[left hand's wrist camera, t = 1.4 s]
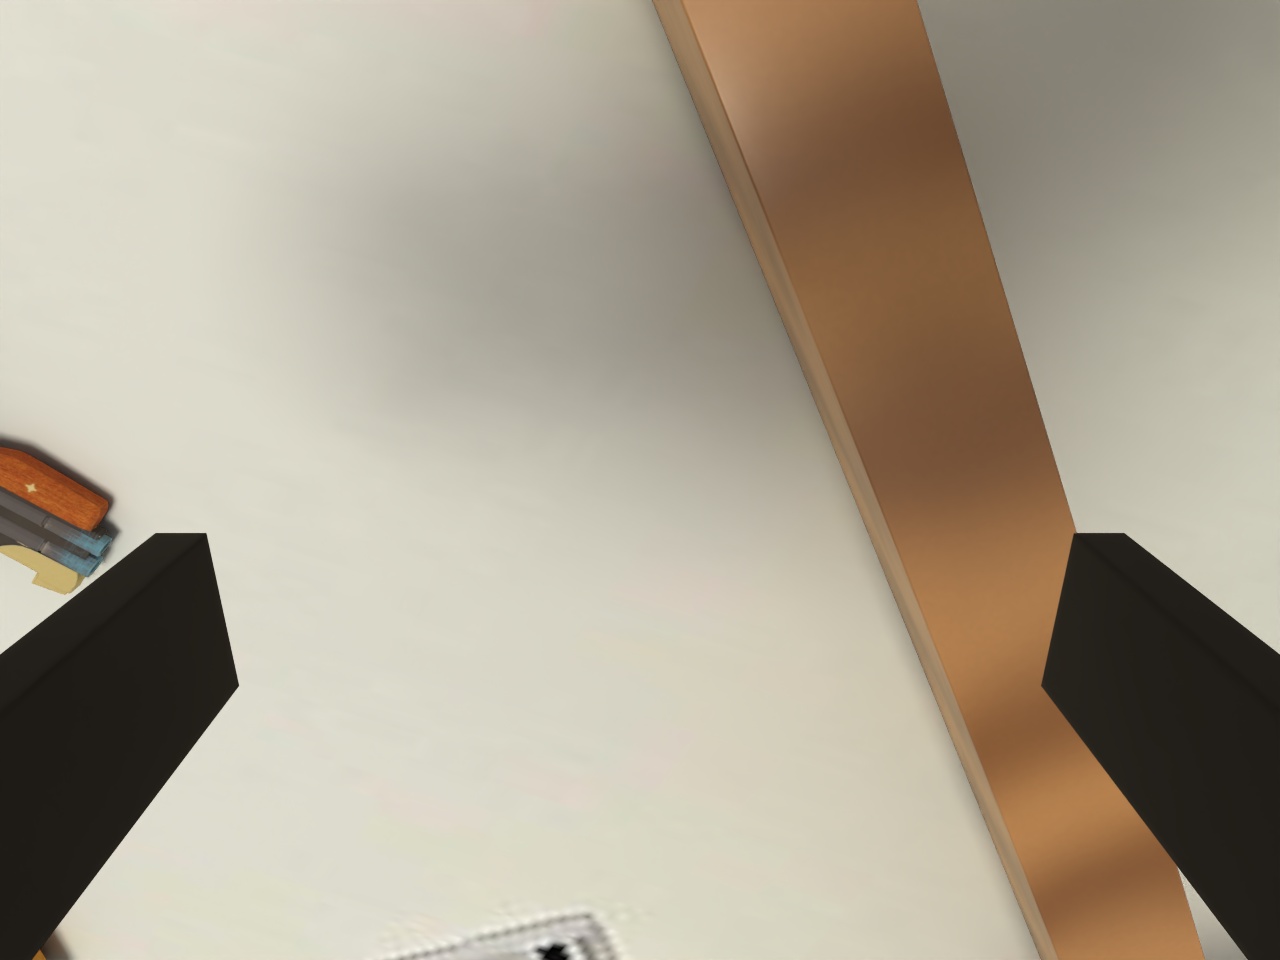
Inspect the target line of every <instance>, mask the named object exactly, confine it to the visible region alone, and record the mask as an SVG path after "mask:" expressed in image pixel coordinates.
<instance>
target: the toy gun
mask: <svg viewBox="0 0 1280 960" xmlns="http://www.w3.org/2000/svg"><path fill="white" fill-rule="evenodd" d="M108 504H109V503H108V501H107V500H105V499H103V498H102V497H100V496H98V495H97V494H95V493H93V492H92V491H90V490H88V489H87V488H85V487H83V486H82V485H80V484H78V483H77V482H75V481H73V480H72V479H70V478H68V477H66V476H65V475H63V474H61V473H60V472H58V471H56V470H54V469H53V468H51V467H49V466H48V465H46V464H44V463H42V462H41V461H39V460H37V459H36V458H34V457H32V456H30V455H29V454H27V453H25V452H22V451H20V450H15V449H10V448H4V447H0V552H1V553H3V554H5V555H6V556H8V557H10V558H12V559H14V560H16V561H18V562H20V563H21V564H23V565H25V566H27V567H29V568H31V569H32V570H34V571H36V572H38V573H37V574H36V576H35V578H34V579H33V581H32V583H33V584H36V585H38V586H41V587H44V588H47V589H50V590H53V591H55V592H58V593H61V594H64V595H65V594H66V593H71V592H72V591H74V590H75V589H76V588H77V587H78V586H79V585H80V584H81V582H82V581H83V579H84V578H85V577H89V576H90V575H91V574H92V573H93V572H94V571H95V570H96V569H97V567H98V566H99V565H100V563H101V561H102V560H103V556H101V554H102V553H103V552H104V551H105V550H106V549H107V547H108V546H109V545H110V543H111V541H112V538H111V537H109V536H108V535H106V533H107V530H106V529H104V528H102V527H101V526H99V523H100V522H101V520H102V518H103V517H104V515H105V514H106V512H107V510H108Z"/></svg>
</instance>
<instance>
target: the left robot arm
mask: <svg viewBox="0 0 1280 960" xmlns="http://www.w3.org/2000/svg"><path fill="white" fill-rule="evenodd" d="M238 687H239V683H238V679H237V674H236V669H235V665H234V660H233V655H232V651H231V646H230V641H229V637H228V632H227V627H226V623H225V618H224V613H223V609H222V604H221V599H220V595H219V590H218V585H217V581H216V576H215V571H214V567H213V562H212V557H211V553H210V548H209V543H208V539H207V534H206V533H155V534H154V535H153V536H151V537H150V538H149V539H148V540H146V541H145V542H144V543H142V544H141V545H140V546H139V547H137V548H136V549H135V550H134V551H132V552H131V553H130V554H128V555H127V556H126V557H125V558H123V559H122V560H121V561H119V562H118V563H117V564H116V565H114V566H113V567H112V568H110V569H109V570H108V571H107V572H105V573H104V574H103V575H101V576H100V577H99V578H98V579H96V580H95V581H94V582H93V583H91V584H90V585H89V586H87V587H86V588H85V589H84V590H82V591H81V592H80V593H78V594H77V595H76V596H75V597H73V598H72V599H71V600H69V601H68V602H67V603H66V604H64V605H63V606H62V607H60V608H59V609H58V610H57V611H55V612H54V613H53V614H52V615H50V616H49V617H48V618H46V619H45V620H44V621H43V622H41V623H40V624H39V625H37V626H36V627H35V628H34V629H32V630H31V631H30V632H28V633H27V634H26V635H25V636H23V637H22V638H21V639H20V640H18V641H17V642H16V643H14V644H13V645H12V646H11V647H9V648H8V649H7V650H5V651H4V652H3V653H2V654H0V960H32V959H33V958H34V957H35V955H36V954H37V953H38V951H39V950H40V949H41V947H42V946H43V945H44V943H45V942H46V941H47V939H48V938H49V937H50V935H51V934H52V933H53V931H54V930H55V929H56V927H57V926H58V925H59V923H60V922H61V921H62V919H63V918H64V917H65V916H66V914H67V913H68V912H69V910H70V909H71V908H72V906H73V905H74V904H75V902H76V901H77V900H78V898H79V897H80V896H81V894H82V893H83V892H84V890H85V889H86V888H87V886H88V885H89V884H90V882H91V881H92V880H93V878H94V877H95V876H96V874H97V873H98V872H99V870H100V869H101V868H102V867H103V865H104V864H105V863H106V861H107V860H108V859H109V857H110V856H111V855H112V853H113V852H114V851H115V849H116V848H117V847H118V845H119V844H120V843H121V841H122V840H123V839H124V837H125V836H126V835H127V833H128V832H129V831H130V829H131V828H132V827H133V825H134V824H135V823H136V822H137V820H138V819H139V818H140V816H141V815H142V814H143V812H144V811H145V810H146V808H147V807H148V806H149V804H150V803H151V802H152V800H153V799H154V798H155V796H156V795H157V794H158V792H159V791H160V790H161V788H162V787H163V786H164V784H165V783H166V782H167V780H168V779H169V778H170V777H171V775H172V774H173V773H174V771H175V770H176V769H177V767H178V766H179V765H180V763H181V762H182V761H183V759H184V758H185V757H186V755H187V754H188V753H189V751H190V750H191V749H192V747H193V746H194V745H195V743H196V742H197V741H198V739H199V738H200V737H201V735H202V734H203V733H204V732H205V730H206V729H207V728H208V726H209V725H210V724H211V722H212V721H213V720H214V718H215V717H216V716H217V714H218V713H219V712H220V710H221V709H222V708H223V706H224V705H225V704H226V702H227V701H228V700H229V698H230V697H231V696H232V694H233V693H234V692H235V690H236V689H237V688H238ZM1041 687H1042V688H1043V689H1044V690H1045V692H1046V693H1047V694H1048V696H1049V697H1050V698H1051V700H1052V701H1053V702H1054V704H1055V705H1056V706H1057V708H1058V709H1059V710H1060V712H1061V713H1062V714H1063V716H1064V717H1065V718H1066V720H1067V721H1068V722H1069V724H1070V725H1071V726H1072V728H1073V729H1074V730H1075V732H1076V733H1077V734H1078V735H1079V737H1080V738H1081V739H1082V741H1083V742H1084V743H1085V745H1086V746H1087V747H1088V749H1089V750H1090V751H1091V753H1092V754H1093V755H1094V757H1095V758H1096V759H1097V761H1098V762H1099V763H1100V765H1101V766H1102V767H1103V769H1104V770H1105V771H1106V773H1107V774H1108V775H1109V777H1110V778H1111V779H1112V780H1113V782H1114V783H1115V784H1116V786H1117V787H1118V788H1119V790H1120V791H1121V792H1122V794H1123V795H1124V796H1125V798H1126V799H1127V800H1128V802H1129V803H1130V804H1131V806H1132V807H1133V808H1134V810H1135V811H1136V812H1137V814H1138V815H1139V816H1140V818H1141V819H1142V820H1143V822H1144V823H1145V824H1146V825H1147V827H1148V828H1149V829H1150V831H1151V832H1152V833H1153V835H1154V836H1155V837H1156V839H1157V840H1158V841H1159V843H1160V844H1161V845H1162V847H1163V848H1164V849H1165V851H1166V852H1167V853H1168V855H1169V856H1170V857H1171V859H1172V860H1173V861H1174V863H1175V864H1176V865H1177V867H1178V868H1179V869H1180V870H1181V872H1182V873H1183V874H1184V876H1185V877H1186V878H1187V880H1188V881H1189V882H1190V884H1191V885H1192V886H1193V888H1194V889H1195V890H1196V892H1197V893H1198V894H1199V896H1200V897H1201V898H1202V900H1203V901H1204V902H1205V904H1206V905H1207V906H1208V908H1209V909H1210V910H1211V912H1212V913H1213V914H1214V916H1215V917H1216V918H1217V919H1218V921H1219V922H1220V923H1221V925H1222V926H1223V927H1224V929H1225V930H1226V931H1227V933H1228V934H1229V935H1230V937H1231V938H1232V939H1233V941H1234V942H1235V943H1236V945H1237V946H1238V947H1239V949H1240V950H1241V951H1242V953H1243V954H1244V955H1245V957H1246V958H1247V959H1248V960H1280V654H1278V653H1277V652H1276V651H1275V650H1273V649H1272V648H1271V647H1269V646H1268V645H1267V644H1266V643H1264V642H1263V641H1262V640H1260V639H1259V638H1258V637H1257V636H1255V635H1254V634H1253V633H1252V632H1250V631H1249V630H1248V629H1246V628H1245V627H1244V626H1243V625H1241V624H1240V623H1239V622H1237V621H1236V620H1235V619H1234V618H1232V617H1231V616H1230V615H1228V614H1227V613H1226V612H1225V611H1223V610H1222V609H1221V608H1220V607H1218V606H1217V605H1216V604H1214V603H1213V602H1212V601H1211V600H1209V599H1208V598H1207V597H1205V596H1204V595H1203V594H1202V593H1200V592H1199V591H1198V590H1196V589H1195V588H1194V587H1193V586H1191V585H1190V584H1189V583H1187V582H1186V581H1185V580H1184V579H1182V578H1181V577H1180V576H1179V575H1177V574H1176V573H1175V572H1173V571H1172V570H1171V569H1170V568H1168V567H1167V566H1166V565H1164V564H1163V563H1162V562H1161V561H1159V560H1158V559H1157V558H1155V557H1154V556H1153V555H1152V554H1150V553H1149V552H1148V551H1146V550H1145V549H1144V548H1143V547H1141V546H1140V545H1139V544H1138V543H1136V542H1135V541H1134V540H1132V539H1131V538H1130V537H1129V536H1127V535H1126V534H1125V533H1074V534H1073V539H1072V543H1071V548H1070V553H1069V557H1068V562H1067V567H1066V571H1065V576H1064V581H1063V585H1062V590H1061V595H1060V599H1059V604H1058V609H1057V613H1056V618H1055V623H1054V627H1053V632H1052V637H1051V641H1050V646H1049V651H1048V655H1047V660H1046V665H1045V669H1044V674H1043V679H1042V683H1041Z"/></svg>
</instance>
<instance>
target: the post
mask: <svg viewBox="0 0 1280 960" xmlns="http://www.w3.org/2000/svg"><path fill="white" fill-rule="evenodd" d="M652 1H653V3H654V5H655V8H656V10H657V13H658V15H659V18H660V20H661V23H662V25H663V28H664V30H665V33H666V35H667V38H668V40H669V42H670V45H671V47H672V50H673V52H674V55H675V57H676V60H677V62H678V65H679V67H680V70H681V72H682V75H683V77H684V79H685V82H686V84H687V87H688V89H689V92H690V94H691V97H692V99H693V102H694V104H695V107H696V109H697V112H698V114H699V116H700V119H701V121H702V124H703V126H704V129H705V131H706V134H707V136H708V139H709V141H710V144H711V146H712V149H713V151H714V153H715V156H716V158H717V161H718V163H719V166H720V168H721V171H722V173H723V176H724V178H725V181H726V183H727V186H728V188H729V191H730V193H731V195H732V198H733V200H734V203H735V205H736V208H737V210H738V213H739V215H740V218H741V220H742V223H743V225H744V228H745V230H746V232H747V235H748V237H749V240H750V242H751V245H752V247H753V250H754V252H755V255H756V257H757V260H758V262H759V265H760V267H761V269H762V272H763V274H764V277H765V279H766V282H767V284H768V287H769V289H770V292H771V294H772V297H773V299H774V302H775V304H776V306H777V309H778V311H779V314H780V316H781V319H782V321H783V324H784V326H785V329H786V331H787V334H788V336H789V339H790V341H791V343H792V346H793V348H794V351H795V353H796V356H797V358H798V361H799V363H800V366H801V368H802V371H803V373H804V376H805V378H806V381H807V383H808V385H809V388H810V390H811V393H812V395H813V398H814V400H815V403H816V405H817V408H818V410H819V413H820V415H821V418H822V420H823V422H824V425H825V427H826V430H827V432H828V435H829V437H830V440H831V442H832V445H833V447H834V450H835V452H836V455H837V457H838V459H839V462H840V464H841V467H842V469H843V472H844V474H845V477H846V479H847V482H848V484H849V487H850V489H851V492H852V494H853V496H854V499H855V501H856V504H857V506H858V509H859V511H860V514H861V516H862V519H863V521H864V524H865V526H866V529H867V531H868V533H869V536H870V538H871V541H872V543H873V546H874V548H875V551H876V553H877V556H878V558H879V561H880V563H881V566H882V568H883V571H884V573H885V575H886V578H887V580H888V583H889V585H890V588H891V590H892V593H893V595H894V598H895V600H896V603H897V605H898V608H899V610H900V612H901V615H902V617H903V620H904V622H905V625H906V627H907V630H908V632H909V635H910V637H911V640H912V642H913V645H914V647H915V649H916V652H917V654H918V657H919V659H920V662H921V664H922V667H923V669H924V672H925V674H926V677H927V679H928V682H929V684H930V686H931V689H932V691H933V694H934V696H935V699H936V701H937V704H938V706H939V709H940V711H941V714H942V716H943V719H944V721H945V724H946V726H947V728H948V731H949V733H950V736H951V738H952V741H953V743H954V746H955V748H956V751H957V753H958V756H959V758H960V761H961V763H962V765H963V768H964V770H965V773H966V775H967V778H968V780H969V783H970V785H971V788H972V790H973V793H974V795H975V798H976V800H977V802H978V805H979V807H980V810H981V812H982V815H983V817H984V820H985V822H986V825H987V827H988V830H989V832H990V835H991V837H992V839H993V842H994V844H995V847H996V849H997V852H998V854H999V857H1000V859H1001V862H1002V864H1003V867H1004V869H1005V872H1006V874H1007V876H1008V879H1009V881H1010V884H1011V886H1012V889H1013V891H1014V894H1015V896H1016V899H1017V901H1018V904H1019V906H1020V909H1021V911H1022V914H1023V916H1024V918H1025V921H1026V923H1027V926H1028V928H1029V931H1030V933H1031V936H1032V938H1033V941H1034V943H1035V946H1036V948H1037V951H1038V953H1039V955H1040V958H1041V960H1205V958H1204V954H1203V951H1202V948H1201V944H1200V941H1199V938H1198V934H1197V931H1196V928H1195V924H1194V921H1193V918H1192V914H1191V911H1190V908H1189V904H1188V901H1187V898H1186V894H1185V891H1184V888H1183V884H1182V881H1181V878H1180V874H1179V871H1178V868H1177V865H1176V864H1175V863H1174V861H1173V860H1172V859H1171V857H1170V856H1169V855H1168V853H1167V852H1166V851H1165V849H1164V848H1163V847H1162V845H1161V844H1160V843H1159V841H1158V840H1157V839H1156V837H1155V836H1154V835H1153V833H1152V832H1151V831H1150V829H1149V828H1148V827H1147V825H1146V824H1145V823H1144V822H1143V820H1142V819H1141V818H1140V816H1139V815H1138V814H1137V812H1136V811H1135V810H1134V808H1133V807H1132V806H1131V804H1130V803H1129V802H1128V800H1127V799H1126V798H1125V796H1124V795H1123V794H1122V792H1121V791H1120V790H1119V788H1118V787H1117V786H1116V784H1115V783H1114V782H1113V780H1112V779H1111V778H1110V777H1109V775H1108V774H1107V773H1106V771H1105V770H1104V769H1103V767H1102V766H1101V765H1100V763H1099V762H1098V761H1097V759H1096V758H1095V757H1094V755H1093V754H1092V753H1091V751H1090V750H1089V749H1088V747H1087V746H1086V745H1085V743H1084V742H1083V741H1082V739H1081V738H1080V737H1079V735H1078V734H1077V733H1076V732H1075V730H1074V729H1073V728H1072V726H1071V725H1070V724H1069V722H1068V721H1067V720H1066V718H1065V717H1064V716H1063V714H1062V713H1061V712H1060V710H1059V709H1058V708H1057V706H1056V705H1055V704H1054V702H1053V701H1052V700H1051V698H1050V697H1049V696H1048V694H1047V693H1046V692H1045V690H1044V689H1043V688H1042V687H1041V683H1042V679H1043V674H1044V669H1045V665H1046V660H1047V655H1048V651H1049V646H1050V641H1051V637H1052V632H1053V627H1054V623H1055V618H1056V613H1057V609H1058V604H1059V599H1060V595H1061V590H1062V585H1063V581H1064V576H1065V571H1066V567H1067V562H1068V557H1069V553H1070V548H1071V543H1072V539H1073V534H1074V533H1077V532H1076V529H1075V525H1074V522H1073V519H1072V515H1071V512H1070V509H1069V505H1068V502H1067V499H1066V495H1065V492H1064V489H1063V485H1062V482H1061V479H1060V475H1059V472H1058V469H1057V465H1056V462H1055V459H1054V455H1053V452H1052V449H1051V445H1050V442H1049V439H1048V435H1047V432H1046V429H1045V425H1044V422H1043V419H1042V415H1041V412H1040V409H1039V405H1038V402H1037V399H1036V395H1035V392H1034V389H1033V385H1032V382H1031V379H1030V376H1029V372H1028V369H1027V366H1026V362H1025V359H1024V356H1023V352H1022V349H1021V346H1020V342H1019V339H1018V336H1017V332H1016V329H1015V326H1014V322H1013V319H1012V316H1011V312H1010V309H1009V306H1008V302H1007V299H1006V296H1005V292H1004V289H1003V286H1002V282H1001V279H1000V276H999V272H998V269H997V266H996V262H995V259H994V256H993V252H992V249H991V246H990V242H989V239H988V236H987V232H986V229H985V226H984V222H983V219H982V216H981V213H980V209H979V206H978V203H977V199H976V196H975V193H974V189H973V186H972V183H971V179H970V176H969V173H968V169H967V166H966V163H965V159H964V156H963V153H962V149H961V146H960V143H959V139H958V136H957V133H956V129H955V126H954V123H953V119H952V116H951V113H950V109H949V106H948V103H947V99H946V96H945V93H944V89H943V86H942V83H941V79H940V76H939V73H938V69H937V66H936V63H935V60H934V56H933V53H932V50H931V46H930V43H929V40H928V36H927V33H926V30H925V26H924V23H923V20H922V16H921V13H920V10H919V6H918V3H917V0H652Z"/></svg>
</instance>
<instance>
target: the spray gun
mask: <svg viewBox="0 0 1280 960" xmlns="http://www.w3.org/2000/svg"><path fill="white" fill-rule="evenodd" d="M32 960H46V959H45V957H44V955H43V954H42V952H41V950H39V951H38V953H37V954H36V955H35V957H34V958H33V959H32Z"/></svg>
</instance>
